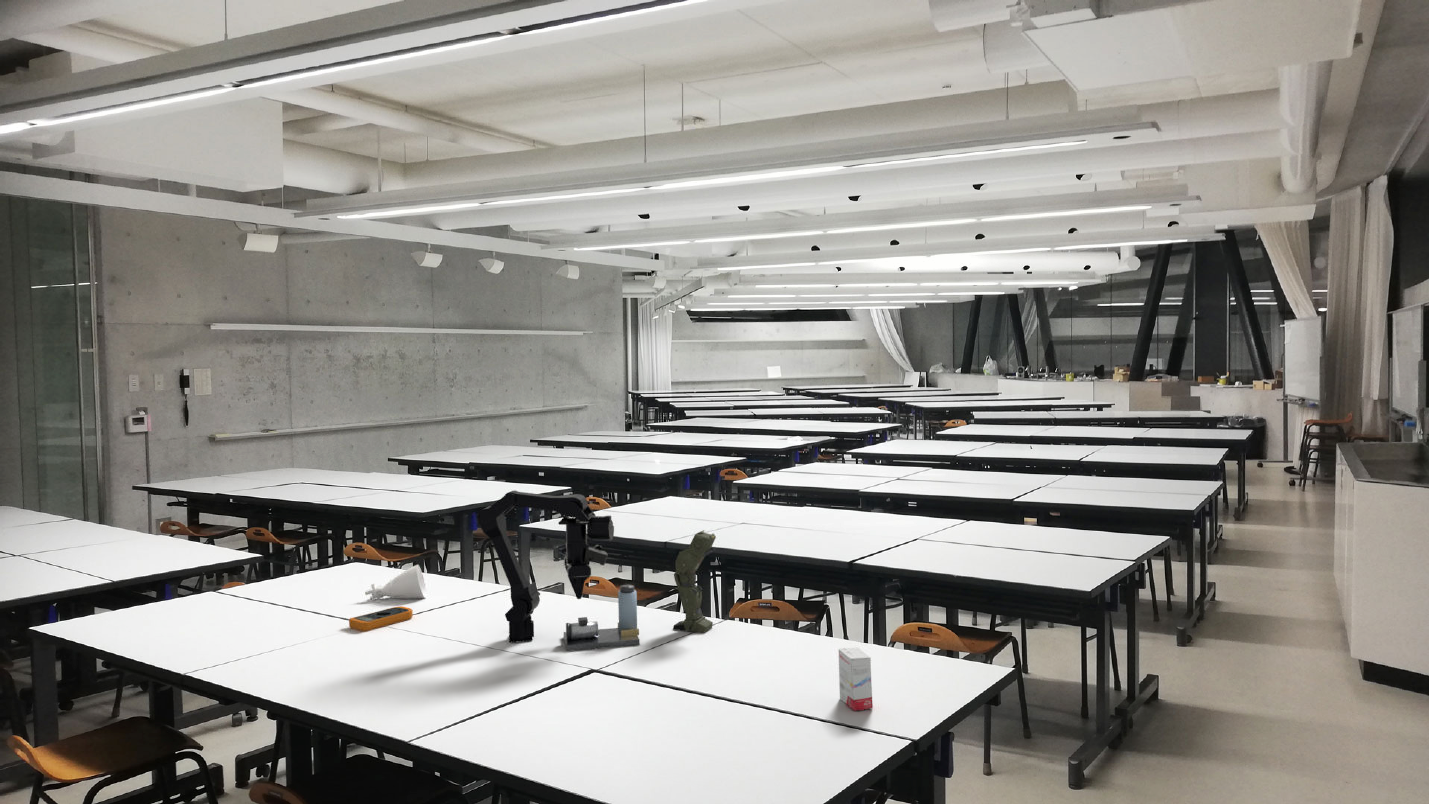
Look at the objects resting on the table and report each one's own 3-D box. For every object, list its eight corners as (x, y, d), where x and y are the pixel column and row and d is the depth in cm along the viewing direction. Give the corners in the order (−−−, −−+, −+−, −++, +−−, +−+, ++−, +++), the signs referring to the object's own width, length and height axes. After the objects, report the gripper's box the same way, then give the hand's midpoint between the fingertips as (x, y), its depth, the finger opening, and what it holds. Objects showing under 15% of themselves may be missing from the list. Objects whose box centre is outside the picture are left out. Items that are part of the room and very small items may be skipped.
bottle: (625, 635, 262) (624, 589, 261) (615, 631, 266) (614, 586, 265) (640, 631, 265) (639, 586, 264) (630, 627, 269) (629, 583, 269)
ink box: (873, 709, 207) (872, 657, 207) (852, 712, 206) (851, 659, 206) (858, 696, 216) (858, 646, 215) (838, 698, 215) (837, 647, 214)
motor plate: (566, 651, 253) (566, 625, 253) (563, 637, 266) (563, 613, 266) (641, 644, 258) (640, 619, 257) (634, 631, 270) (634, 607, 270)
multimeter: (416, 619, 289) (415, 608, 289) (363, 633, 274) (363, 622, 274) (399, 615, 294) (399, 604, 294) (347, 629, 279) (347, 617, 279)
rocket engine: (360, 573, 310) (415, 558, 313) (370, 588, 319) (423, 574, 323) (363, 603, 303) (419, 588, 307) (373, 618, 313) (428, 603, 316)
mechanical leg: (659, 626, 272) (680, 528, 268) (670, 619, 279) (690, 524, 275) (702, 641, 268) (723, 542, 264) (711, 634, 274) (732, 538, 270)
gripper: (608, 544, 254) (610, 601, 255) (601, 532, 272) (603, 585, 273) (567, 546, 252) (569, 604, 252) (563, 534, 270) (564, 588, 271)
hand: (577, 594), depth 262 cm, fingers open, 9 cm apart
